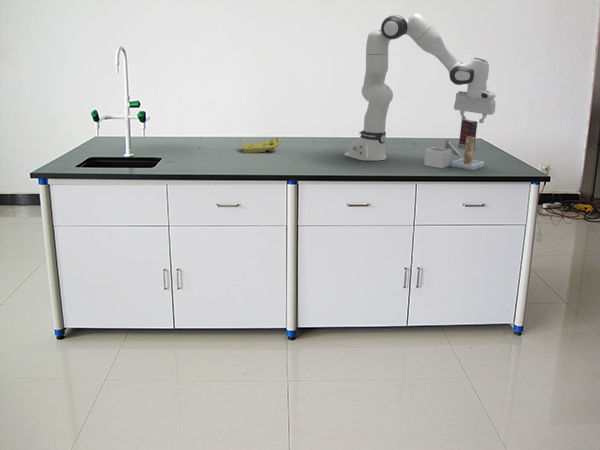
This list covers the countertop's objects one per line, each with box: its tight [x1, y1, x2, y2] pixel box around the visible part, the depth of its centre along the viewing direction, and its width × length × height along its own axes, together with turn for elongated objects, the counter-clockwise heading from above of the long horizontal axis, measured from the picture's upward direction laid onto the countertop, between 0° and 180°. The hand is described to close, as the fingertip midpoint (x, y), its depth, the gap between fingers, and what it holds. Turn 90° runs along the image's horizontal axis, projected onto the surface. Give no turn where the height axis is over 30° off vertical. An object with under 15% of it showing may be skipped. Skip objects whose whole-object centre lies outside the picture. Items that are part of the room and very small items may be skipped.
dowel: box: [463, 137, 476, 165], centre depth 302 cm, size 4×4×14 cm
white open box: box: [423, 146, 453, 169], centre depth 304 cm, size 10×10×8 cm
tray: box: [450, 157, 485, 171], centre depth 304 cm, size 12×12×2 cm
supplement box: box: [458, 119, 478, 149], centre depth 346 cm, size 9×5×16 cm, turn 25°
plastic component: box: [241, 136, 280, 154], centre depth 326 cm, size 20×7×10 cm
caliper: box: [444, 138, 462, 157], centre depth 335 cm, size 20×1×6 cm, turn 10°
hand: (472, 121), depth 297 cm, fingers open, 8 cm apart
